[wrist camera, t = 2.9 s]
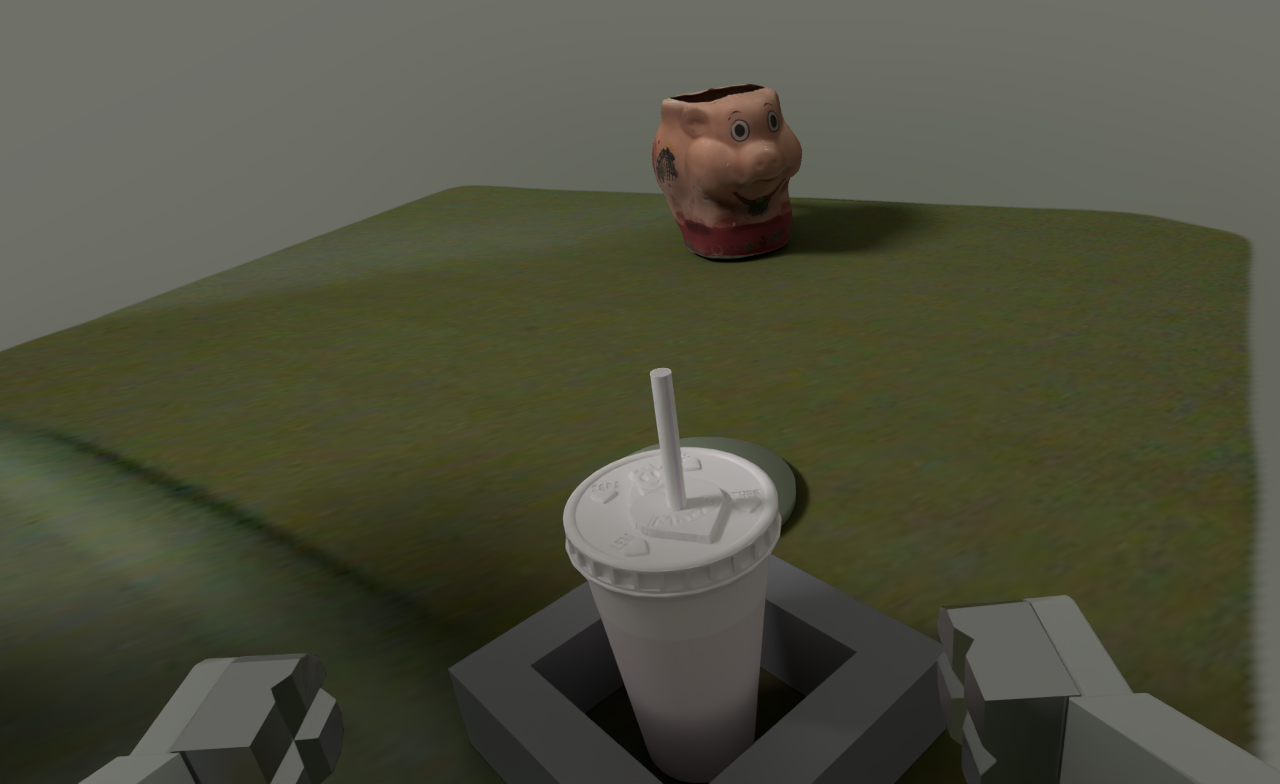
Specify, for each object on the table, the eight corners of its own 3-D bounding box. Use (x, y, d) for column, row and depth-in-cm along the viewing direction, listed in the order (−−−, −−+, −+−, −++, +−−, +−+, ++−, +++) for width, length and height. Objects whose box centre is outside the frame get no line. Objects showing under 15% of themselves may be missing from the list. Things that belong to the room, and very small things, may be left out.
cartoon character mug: (626, 236, 86) (607, 93, 80) (730, 210, 90) (719, 72, 84) (724, 285, 69) (709, 109, 63) (846, 250, 73) (843, 82, 67)
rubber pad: (554, 506, 43) (552, 496, 42) (695, 428, 48) (694, 419, 48) (691, 591, 36) (689, 580, 35) (838, 488, 41) (838, 477, 41)
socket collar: (470, 743, 30) (447, 668, 28) (701, 581, 36) (693, 513, 34) (697, 994, 22) (682, 909, 20) (945, 728, 28) (949, 648, 26)
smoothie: (658, 857, 25) (586, 452, 19) (578, 712, 30) (502, 360, 24) (834, 762, 27) (821, 371, 21) (731, 643, 33) (697, 303, 26)
